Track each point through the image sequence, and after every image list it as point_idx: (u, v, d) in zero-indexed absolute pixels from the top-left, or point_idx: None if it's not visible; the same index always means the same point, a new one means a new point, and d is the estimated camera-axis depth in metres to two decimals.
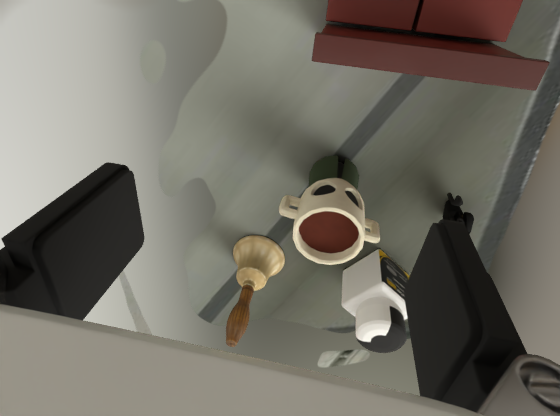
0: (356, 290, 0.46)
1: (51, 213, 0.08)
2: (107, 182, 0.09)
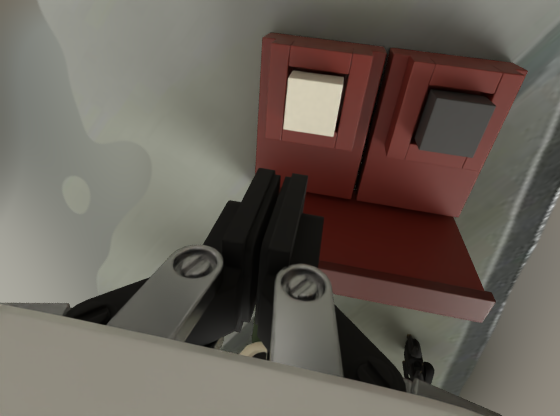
0: None
1: (246, 215, 0.09)
2: (270, 186, 0.10)
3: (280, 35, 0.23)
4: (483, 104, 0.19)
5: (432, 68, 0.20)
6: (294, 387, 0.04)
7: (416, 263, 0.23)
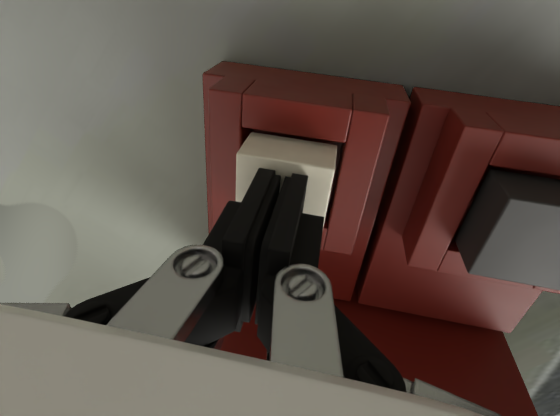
0: None
1: (246, 215, 0.09)
2: (270, 186, 0.10)
3: (236, 67, 0.15)
4: None
5: (498, 138, 0.11)
6: (294, 387, 0.04)
7: None
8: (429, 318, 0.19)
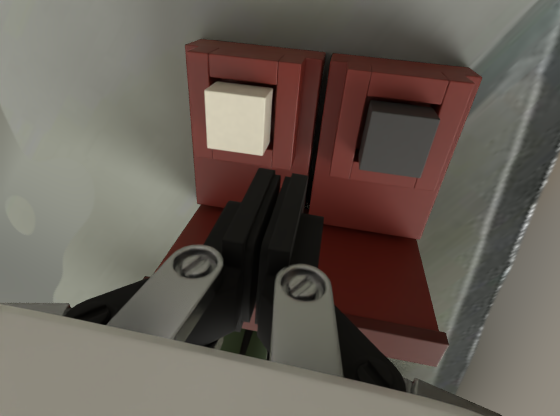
0: None
1: (246, 215, 0.09)
2: (270, 186, 0.10)
3: (209, 42, 0.21)
4: (425, 117, 0.16)
5: (368, 76, 0.17)
6: (294, 387, 0.04)
7: (364, 296, 0.20)
8: (362, 233, 0.25)
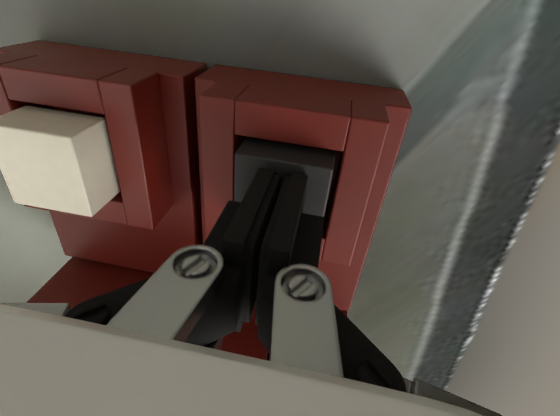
0: None
1: (246, 215, 0.09)
2: (270, 186, 0.10)
3: (42, 45, 0.15)
4: (312, 166, 0.11)
5: (231, 107, 0.11)
6: (294, 387, 0.04)
7: None
8: None
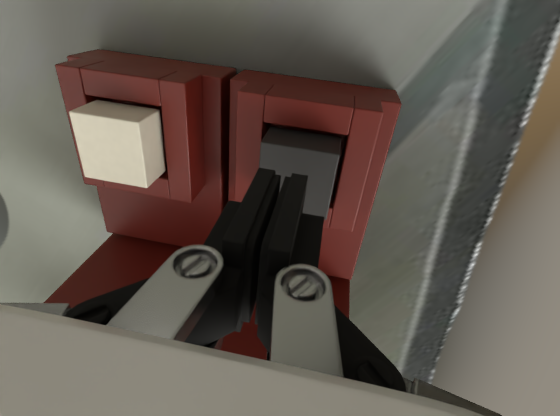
0: None
1: (246, 215, 0.09)
2: (270, 186, 0.10)
3: (103, 53, 0.18)
4: (322, 152, 0.13)
5: (262, 100, 0.14)
6: (294, 387, 0.04)
7: None
8: None
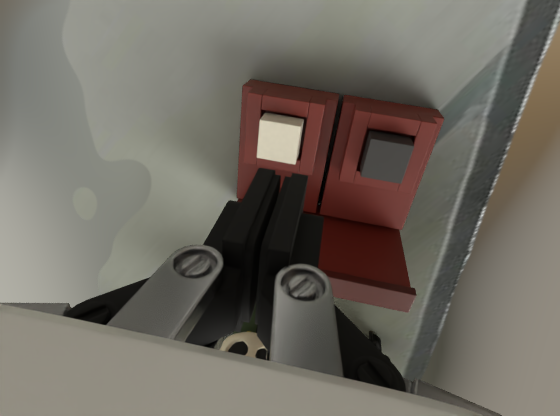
0: None
1: (246, 215, 0.09)
2: (270, 186, 0.10)
3: (257, 82, 0.30)
4: (405, 144, 0.25)
5: (369, 115, 0.26)
6: (294, 387, 0.04)
7: (360, 265, 0.29)
8: (359, 224, 0.34)
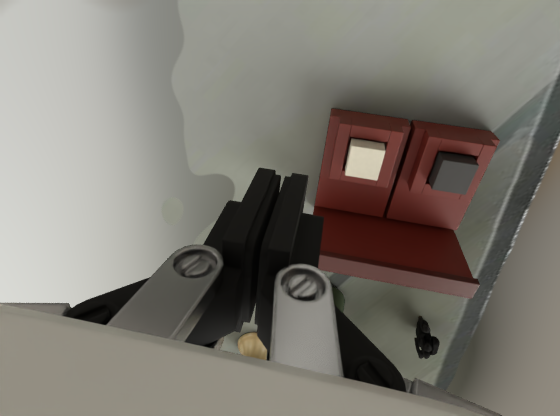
0: None
1: (246, 215, 0.09)
2: (270, 186, 0.10)
3: (339, 111, 0.36)
4: (471, 164, 0.31)
5: (440, 140, 0.32)
6: (294, 387, 0.04)
7: (429, 261, 0.35)
8: (419, 225, 0.40)
